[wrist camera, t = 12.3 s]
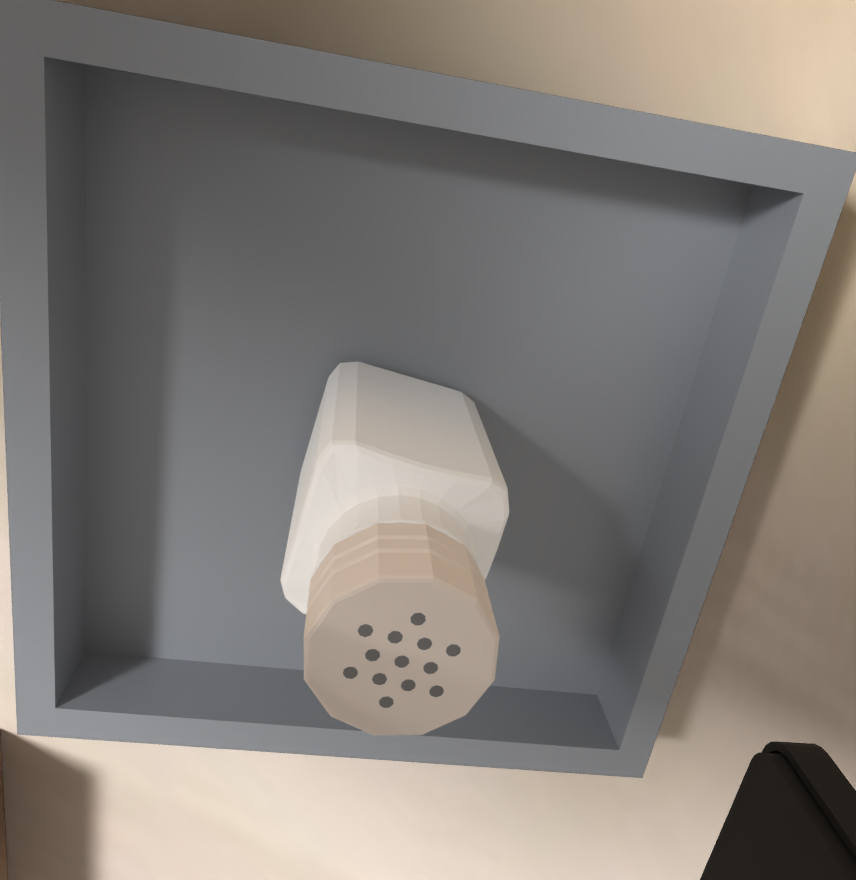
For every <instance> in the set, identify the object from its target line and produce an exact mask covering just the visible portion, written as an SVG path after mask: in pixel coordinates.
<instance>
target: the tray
mask: <svg viewBox="0 0 856 880" xmlns="http://www.w3.org/2000/svg"><path fill="white" fill-rule="evenodd" d="M855 171H856V152H851V151H845V150H840V149H835V148H830V147H824V146H819V145H814V144H808V143H803V142H798V141H793V140H787V139H782V138H777V137H772V136H766V135H761V134H756V133H751V132H745V131H740V130H735V129H729V128H724V127H719V126H714V125H708V124H703V123H698V122H693V121H687V120H682V119H677V118H671V117H666V116H661V115H656V114H650V113H645V112H640V111H635V110H629V109H624V108H619V107H614V106H608V105H603V104H598V103H592V102H587V101H582V100H577V99H571V98H566V97H561V96H556V95H550V94H545V93H540V92H534V91H529V90H524V89H519V88H513V87H508V86H503V85H498V84H492V83H487V82H482V81H476V80H471V79H466V78H461V77H455V76H450V75H445V74H440V73H434V72H429V71H424V70H419V69H413V68H408V67H403V66H397V65H392V64H387V63H382V62H376V61H371V60H366V59H361V58H355V57H350V56H345V55H339V54H334V53H329V52H324V51H318V50H313V49H308V48H303V47H297V46H292V45H287V44H282V43H276V42H271V41H266V40H260V39H255V38H250V37H245V36H239V35H234V34H229V33H224V32H218V31H213V30H208V29H202V28H197V27H192V26H187V25H181V24H176V23H171V22H166V21H160V20H155V19H150V18H145V17H139V16H134V15H129V14H123V13H118V12H113V11H108V10H102V9H97V8H92V7H87V6H81V5H76V4H71V3H65V2H60V1H55V0H0V321H1V345H2V370H3V394H4V419H5V444H6V468H7V493H8V517H9V542H10V566H11V591H12V616H13V640H14V665H15V689H16V714H17V734H19V735H33V736H48V737H62V738H76V739H91V740H105V741H119V742H134V743H148V744H163V745H177V746H191V747H206V748H220V749H234V750H249V751H263V752H277V753H292V754H306V755H320V756H335V757H349V758H363V759H378V760H392V761H406V762H421V763H435V764H449V765H464V766H478V767H492V768H507V769H521V770H536V771H550V772H564V773H579V774H593V775H607V776H622V777H636V778H642V777H643V774H644V771H645V769H646V766H647V763H648V760H649V757H650V754H651V752H652V749H653V746H654V743H655V740H656V737H657V734H658V732H659V729H660V726H661V723H662V720H663V717H664V715H665V712H666V709H667V706H668V703H669V700H670V697H671V695H672V692H673V689H674V686H675V683H676V680H677V678H678V675H679V672H680V669H681V666H682V663H683V661H684V658H685V655H686V652H687V649H688V646H689V643H690V641H691V638H692V635H693V632H694V629H695V626H696V624H697V621H698V618H699V615H700V612H701V609H702V606H703V604H704V601H705V598H706V595H707V592H708V589H709V587H710V584H711V581H712V578H713V575H714V572H715V569H716V567H717V564H718V561H719V558H720V555H721V552H722V550H723V547H724V544H725V541H726V538H727V535H728V533H729V530H730V527H731V524H732V521H733V518H734V515H735V513H736V510H737V507H738V504H739V501H740V498H741V496H742V493H743V490H744V487H745V484H746V481H747V478H748V476H749V473H750V470H751V467H752V464H753V461H754V459H755V456H756V453H757V450H758V447H759V444H760V442H761V439H762V436H763V433H764V430H765V427H766V424H767V422H768V419H769V416H770V413H771V410H772V407H773V405H774V402H775V399H776V396H777V393H778V390H779V387H780V385H781V382H782V379H783V376H784V373H785V370H786V368H787V365H788V362H789V359H790V356H791V353H792V351H793V348H794V345H795V342H796V339H797V336H798V333H799V331H800V328H801V325H802V322H803V319H804V316H805V314H806V311H807V308H808V305H809V302H810V299H811V296H812V294H813V291H814V288H815V285H816V282H817V279H818V277H819V274H820V271H821V268H822V265H823V262H824V260H825V257H826V254H827V251H828V248H829V245H830V242H831V240H832V237H833V234H834V231H835V228H836V225H837V223H838V220H839V217H840V214H841V211H842V208H843V205H844V203H845V200H846V197H847V194H848V191H849V188H850V186H851V183H852V180H853V177H854V174H855ZM357 361H358V362H362V363H365V364H369V365H372V366H375V367H379V368H382V369H386V370H389V371H392V372H396V373H399V374H403V375H406V376H410V377H413V378H416V379H420V380H423V381H427V382H430V383H433V384H437V385H440V386H444V387H447V388H450V389H454V390H457V391H461V392H462V393H463V394H465V395H466V396H467V397H468V398H470V399H471V400H472V401H473V402H474V403H475V406H476V408H477V411H478V413H479V416H480V418H481V421H482V424H483V426H484V429H485V431H486V434H487V437H488V439H489V442H490V444H491V447H492V449H493V452H494V455H495V457H496V460H497V462H498V465H499V467H500V470H501V473H502V475H503V478H504V480H505V483H506V486H507V488H508V500H509V516H508V519H507V522H506V525H505V528H504V531H503V534H502V537H501V540H500V543H499V546H498V549H497V552H496V554H495V557H494V559H493V562H492V564H491V567H490V570H489V572H488V575H487V577H486V580H485V582H486V586H487V590H488V596H489V598H490V602H491V606H492V611H493V613H494V617H495V621H496V625H497V629H498V633H499V636H500V638H499V647H498V656H497V665H496V674H495V680H494V681H493V683H492V684H491V685H490V686H489V687H488V689H487V690H486V691H485V692H484V694H483V695H482V696H481V697H480V698H479V700H478V701H477V702H476V703H475V705H474V706H473V707H472V708H471V710H470V711H469V712H468V713H467V714H466V715H465V716H463V717H461V718H459V719H456V720H454V721H452V722H450V723H447V724H445V725H443V726H441V727H438V728H436V729H434V730H432V731H429V732H427V733H425V734H423V735H371V734H369V733H367V732H365V731H362V730H360V729H358V728H356V727H353V726H351V725H349V724H347V723H344V722H342V721H340V720H338V719H335V718H333V717H331V716H330V715H329V714H328V712H327V711H326V709H325V708H324V707H323V705H322V704H321V703H320V701H319V700H318V698H317V697H316V696H315V694H314V693H313V692H312V690H311V689H310V687H309V686H308V685H307V683H306V682H305V681H304V629H305V621H306V614H303V613H301V612H300V611H299V610H298V609H297V608H296V607H295V606H294V605H292V604H291V603H290V602H289V601H288V600H287V599H286V598H285V596H284V592H283V589H282V585H281V581H280V579H281V573H282V568H283V563H284V557H285V552H286V547H287V541H288V536H289V531H290V525H291V520H292V515H293V509H294V504H295V499H296V493H297V488H298V483H299V477H300V472H301V469H302V465H303V462H304V458H305V455H306V452H307V448H308V445H309V441H310V438H311V435H312V431H313V428H314V424H315V421H316V418H317V414H318V411H319V407H320V404H321V401H322V397H323V394H324V390H325V387H326V384H327V380H328V377H329V375H330V374H331V373H332V372H333V371H334V369H335V368H336V367H337V366H338V365H339V364H340V363H346V362H357Z"/></svg>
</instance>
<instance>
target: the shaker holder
mask: <svg viewBox="0 0 856 880" xmlns="http://www.w3.org/2000/svg"><path fill="white" fill-rule="evenodd" d="M0 880H8V875H7V855H6V836H5V816H4V797H3V777H2V757H1V738H0Z"/></svg>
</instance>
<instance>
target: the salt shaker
mask: <svg viewBox="0 0 856 880" xmlns="http://www.w3.org/2000/svg"><path fill="white" fill-rule="evenodd" d="M508 516H509V500H508V488H507V486H506V483H505V480H504V478H503V475H502V473H501V470H500V467H499V465H498V462H497V460H496V457H495V455H494V452H493V449H492V447H491V444H490V442H489V439H488V437H487V434H486V431H485V429H484V426H483V424H482V421H481V418H480V416H479V413H478V411H477V408H476V406H475V403H474V402H473V401H472V400H471V399H470V398H468V397H467V396H466V395H465V394H463V393H462V392H461V391H457V390H454V389H450V388H447V387H444V386H440V385H437V384H433V383H430V382H427V381H423V380H420V379H416V378H413V377H410V376H406V375H403V374H399V373H396V372H392V371H389V370H386V369H382V368H379V367H375V366H372V365H369V364H365V363H362V362H358V361H357V362H346V363H340V364H339V365H338V366H337V367H336V368H335V369H334V371H333V372H332V373H331V374H330V375H329V377H328V380H327V384H326V387H325V390H324V394H323V397H322V401H321V404H320V407H319V411H318V414H317V418H316V421H315V424H314V428H313V431H312V435H311V438H310V441H309V445H308V448H307V452H306V455H305V458H304V462H303V465H302V469H301V472H300V477H299V483H298V488H297V493H296V499H295V504H294V509H293V515H292V520H291V525H290V531H289V536H288V541H287V547H286V552H285V557H284V563H283V568H282V573H281V579H280V581H281V585H282V589H283V592H284V596H285V598H286V599H287V600H288V601H289V602H290V603H291V604H292V605H294V606H295V607H296V608H297V609H298V610H299V611H300V612H301V613H303V614H306V621H305V629H304V681H305V682H306V683H307V685H308V686H309V687H310V689H311V690H312V692H313V693H314V694H315V696H316V697H317V698H318V700H319V701H320V703H321V704H322V705H323V707H324V708H325V709H326V711H327V712H328V714H329V715H330V716H331V717H333V718H335V719H338V720H340V721H342V722H344V723H347V724H349V725H351V726H353V727H356V728H358V729H360V730H362V731H365V732H367V733H369V734H371V735H423V734H425V733H427V732H429V731H432V730H434V729H436V728H438V727H441V726H443V725H445V724H447V723H450V722H452V721H454V720H456V719H459V718H461V717H463V716H465V715H466V714H467V713H468V712H469V711H470V710H471V708H472V707H473V706H474V705H475V703H476V702H477V701H478V700H479V698H480V697H481V696H482V695H483V694H484V692H485V691H486V690H487V689H488V687H489V686H490V685H491V684H492V683H493V681H494V680H495V674H496V665H497V656H498V647H499V638H500V636H499V633H498V629H497V625H496V621H495V617H494V613H493V611H492V606H491V602H490V598H489V596H488V590H487V586H486V582H485V580H486V577H487V575H488V572H489V570H490V567H491V564H492V562H493V559H494V557H495V554H496V552H497V549H498V546H499V543H500V540H501V537H502V534H503V531H504V528H505V525H506V522H507V519H508Z"/></svg>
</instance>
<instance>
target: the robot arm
mask: <svg viewBox="0 0 856 880" xmlns="http://www.w3.org/2000/svg"><path fill="white" fill-rule="evenodd" d="M700 880H856V791H855V789H854V788H853V787H852V785H851V784H850V783H849V781H848V780H847V779H846V777H845V776H844V775H843V773H842V772H841V771H840V769H839V768H838V767H837V765H836V764H835V763H834V761H833V760H832V759H831V757H830V756H829V755H828V753H827V752H826V751H825V750H824V749H823V748H822V747H820V746H818V745H816V744H807V743H790V742H770V743H769V744H767V745H766V746H765V747H764V749H763V751H762V752H761V753H757V754H756V755H754V757H753V758H752V760H751V762H750V764H749V767H748V769H747V771H746V774H745V776H744V778H743V781H742V783H741V785H740V788H739V790H738V792H737V795H736V797H735V799H734V802H733V804H732V806H731V809H730V811H729V813H728V816H727V818H726V820H725V823H724V825H723V827H722V830H721V832H720V834H719V837H718V839H717V841H716V844H715V846H714V848H713V851H712V853H711V855H710V858H709V860H708V862H707V865H706V867H705V869H704V872H703V874H702V876H701V879H700Z"/></svg>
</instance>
